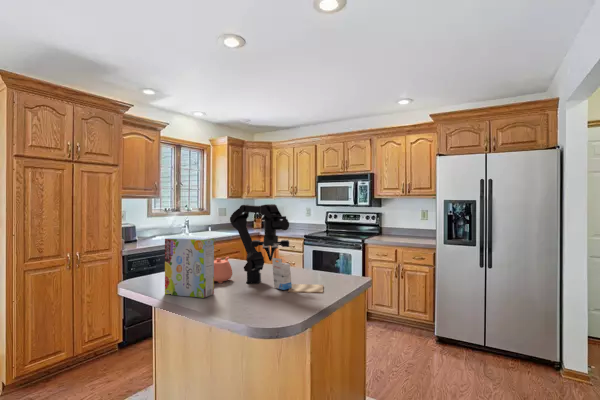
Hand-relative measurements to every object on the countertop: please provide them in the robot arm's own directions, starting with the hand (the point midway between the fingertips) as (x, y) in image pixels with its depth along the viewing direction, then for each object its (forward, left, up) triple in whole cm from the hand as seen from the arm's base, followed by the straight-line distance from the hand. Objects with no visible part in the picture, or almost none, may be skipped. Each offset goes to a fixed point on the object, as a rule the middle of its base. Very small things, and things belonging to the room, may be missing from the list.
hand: (270, 260), depth 166 cm
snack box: (-34, -17, -13) cm, 40 cm away
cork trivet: (+18, -4, -13) cm, 22 cm away
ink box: (+7, -4, -13) cm, 15 cm away
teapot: (-29, +9, -13) cm, 33 cm away
